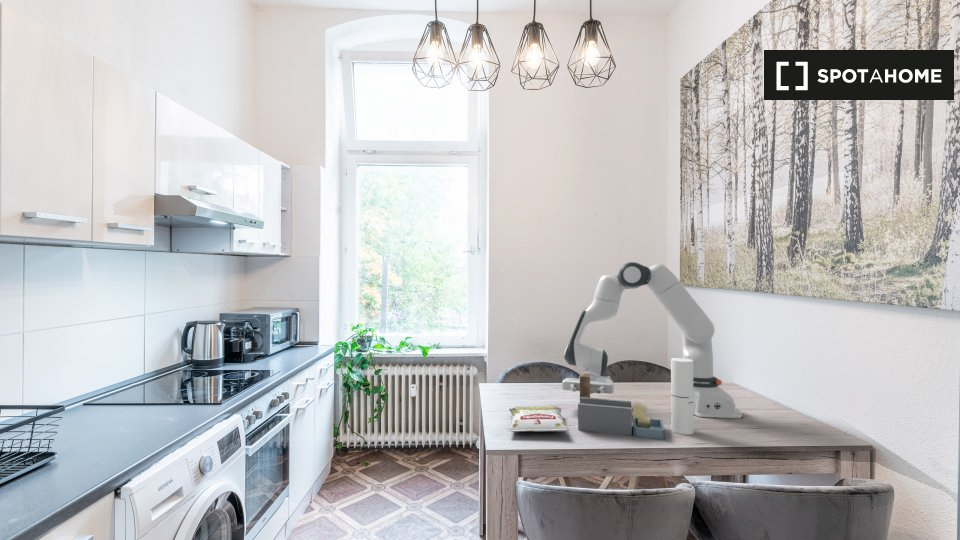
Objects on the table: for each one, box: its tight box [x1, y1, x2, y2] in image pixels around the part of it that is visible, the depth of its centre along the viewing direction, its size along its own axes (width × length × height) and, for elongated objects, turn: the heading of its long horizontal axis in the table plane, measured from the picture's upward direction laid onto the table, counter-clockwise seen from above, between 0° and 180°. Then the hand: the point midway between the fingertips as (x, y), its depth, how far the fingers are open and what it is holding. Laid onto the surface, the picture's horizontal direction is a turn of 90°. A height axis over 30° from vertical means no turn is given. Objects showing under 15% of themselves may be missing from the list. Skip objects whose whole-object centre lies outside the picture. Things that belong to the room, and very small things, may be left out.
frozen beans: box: [508, 406, 570, 433], centre depth 161 cm, size 21×6×25 cm
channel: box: [577, 397, 633, 436], centre depth 160 cm, size 18×10×9 cm, turn 72°
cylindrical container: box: [670, 357, 695, 436], centre depth 156 cm, size 7×7×25 cm
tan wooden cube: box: [638, 416, 651, 429], centre depth 155 cm, size 4×4×4 cm
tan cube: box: [632, 401, 648, 420], centre depth 156 cm, size 4×4×4 cm
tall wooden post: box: [579, 373, 591, 399], centre depth 172 cm, size 4×5×16 cm
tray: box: [632, 416, 666, 441], centre depth 155 cm, size 10×12×3 cm
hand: (586, 390), depth 173 cm, fingers open, 8 cm apart
